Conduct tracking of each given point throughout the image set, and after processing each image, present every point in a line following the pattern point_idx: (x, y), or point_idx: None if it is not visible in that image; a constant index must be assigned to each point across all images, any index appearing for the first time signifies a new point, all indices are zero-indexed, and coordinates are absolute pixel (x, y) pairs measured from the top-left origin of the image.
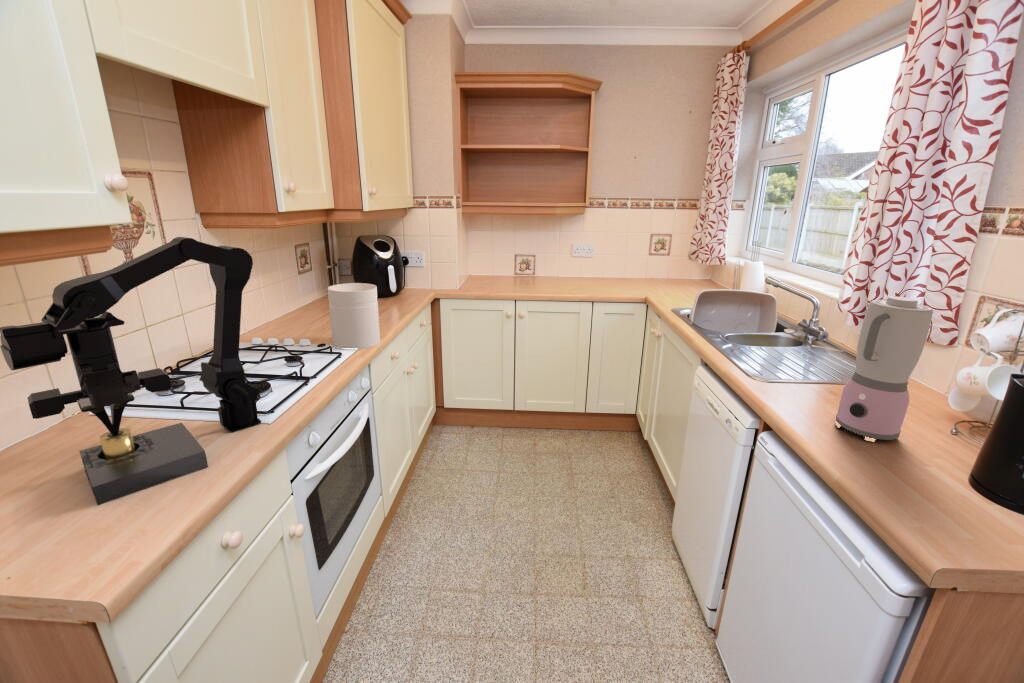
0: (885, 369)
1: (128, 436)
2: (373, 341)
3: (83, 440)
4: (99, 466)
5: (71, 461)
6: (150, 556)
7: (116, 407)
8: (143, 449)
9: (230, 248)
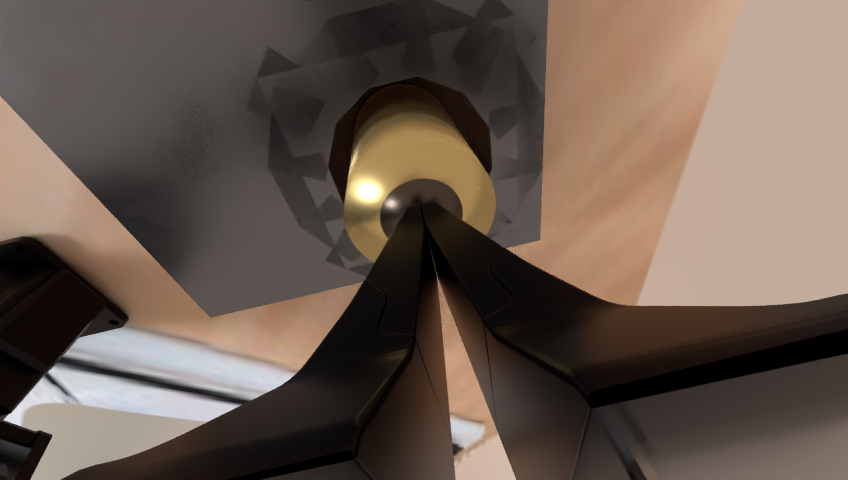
0: None
1: (353, 174)
2: None
3: None
4: (491, 14)
5: (536, 253)
6: None
7: (374, 370)
8: (301, 119)
9: None
